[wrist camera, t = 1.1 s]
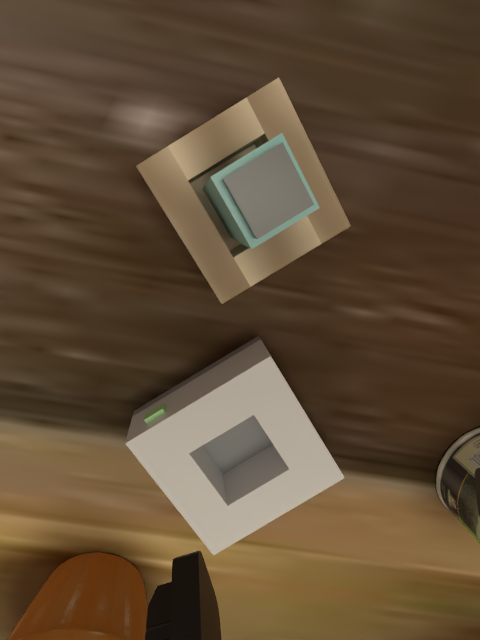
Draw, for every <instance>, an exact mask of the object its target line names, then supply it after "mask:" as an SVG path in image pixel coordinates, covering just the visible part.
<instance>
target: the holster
mask: <svg viewBox="0 0 480 640" xmlns="http://www.w3.org/2000/svg"><path fill="white" fill-rule="evenodd" d="M281 133H283V135H284V137H285V139H286V141H287V143H288V145H289V147H290V149H291V151H292V153H293V155H294V157H295V159H296V161H297V163H298V165H299V167H300V169H301V171H302V173H303V175H304V177H305V179H306V181H307V183H308V185H309V187H310V189H311V191H312V193H313V195H314V197H315V199H316V201H317V203H318V205H319V207H320V208H319V209H317V210H316V211H314V212H312V213H311V214H309V215H307V216H306V217H304V218H302V219H301V220H299V221H297V222H296V223H294V224H293V225H291V226H289V227H288V228H286V229H284V230H283V231H281V232H279V233H278V234H276V235H274V236H273V237H271V238H270V239H268V240H266V241H265V242H263V243H261V244H260V245H258V246H256V247H255V248H253V249H250V248H248V247H247V246H245V245H243V244H241V243H239V242H237V241H236V240H234V239H232V238H231V237H230V235H229V234H228V232H227V230H226V228H225V227H224V225H223V223H222V222H221V220H220V218H219V216H218V215H217V213H216V211H215V210H214V208H213V206H212V204H211V203H210V201H209V199H208V198H207V196H206V194H205V192H204V191H203V187H204V186H205V184H206V183H207V181H208V180H209V178H210V177H211V176H212V175H214V174H216V173H217V172H219V171H221V170H222V169H224V168H225V167H227V166H229V165H230V164H232V163H234V162H235V161H237V160H238V159H240V158H242V157H243V156H245V155H247V154H248V153H250V152H251V151H253V150H255V149H256V148H258V147H260V146H261V145H263V144H264V143H266V142H268V141H269V140H271V139H273V138H274V137H276V136H277V135H279V134H281ZM136 167H137V168H138V170H139V172H140V173H141V175H142V177H143V178H144V180H145V181H146V183H147V185H148V186H149V188H150V189H151V191H152V193H153V194H154V196H155V197H156V199H157V201H158V202H159V204H160V206H161V207H162V209H163V210H164V212H165V214H166V215H167V217H168V218H169V220H170V222H171V223H172V225H173V226H174V228H175V230H176V231H177V233H178V235H179V236H180V238H181V239H182V241H183V243H184V244H185V246H186V247H187V249H188V251H189V252H190V254H191V256H192V257H193V259H194V260H195V262H196V264H197V265H198V267H199V268H200V270H201V272H202V273H203V275H204V276H205V278H206V280H207V281H208V283H209V285H210V286H211V288H212V289H213V291H214V293H215V294H216V296H217V297H218V299H219V301H220V302H221V304H223V303H225V302H226V301H228V300H230V299H231V298H233V297H234V296H236V295H238V294H239V293H241V292H243V291H244V290H246V289H248V288H249V287H251V286H253V285H254V284H256V283H258V282H259V281H261V280H263V279H264V278H266V277H267V276H269V275H271V274H272V273H274V272H276V271H277V270H279V269H281V268H282V267H284V266H286V265H287V264H289V263H291V262H292V261H294V260H295V259H297V258H299V257H300V256H302V255H304V254H305V253H307V252H309V251H310V250H312V249H314V248H315V247H317V246H319V245H320V244H322V243H324V242H325V241H327V240H328V239H330V238H332V237H333V236H335V235H337V234H338V233H340V232H342V231H343V230H345V229H347V228H348V227H350V226H351V225H350V223H349V221H348V219H347V217H346V215H345V213H344V211H343V209H342V207H341V205H340V203H339V200H338V198H337V196H336V194H335V192H334V190H333V188H332V186H331V184H330V182H329V180H328V178H327V176H326V174H325V172H324V169H323V167H322V165H321V163H320V161H319V159H318V157H317V155H316V153H315V151H314V149H313V147H312V145H311V143H310V141H309V139H308V136H307V134H306V132H305V130H304V128H303V126H302V124H301V122H300V120H299V118H298V116H297V114H296V112H295V110H294V108H293V105H292V103H291V101H290V99H289V97H288V95H287V93H286V91H285V89H284V87H283V85H282V83H281V81H280V79H279V78H277V79H276V80H274V81H272V82H271V83H269V84H267V85H266V86H264V87H263V88H261V89H259V90H258V91H256V92H255V93H253V94H251V95H250V96H248V97H246V98H245V99H243V100H242V101H240V102H238V103H237V104H235V105H234V106H232V107H230V108H229V109H227V110H225V111H224V112H222V113H221V114H219V115H217V116H216V117H214V118H213V119H211V120H209V121H208V122H206V123H204V124H203V125H201V126H200V127H198V128H196V129H195V130H193V131H192V132H190V133H188V134H187V135H185V136H183V137H182V138H180V139H179V140H177V141H175V142H174V143H172V144H170V145H169V146H167V147H166V148H164V149H162V150H161V151H159V152H158V153H156V154H154V155H153V156H151V157H149V158H148V159H146V160H145V161H143V162H141V163H140V164H138V165H137V166H136Z"/></svg>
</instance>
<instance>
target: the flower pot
mask: <svg viewBox="0 0 480 640" xmlns="http://www.w3.org/2000/svg"><path fill="white" fill-rule="evenodd" d="M147 611H148V608H147V600H146V593H145V586H144V582H143V579H142V577H141V574H140V573H139V571H138V570H137V569H136V568H135V567H134V566H133V565H132V564H131V563H130V562H128V561H127V560H125V559H123V558H121V557H119V556H116V555H111V554H107V553H101V552H93V553H85V554H81V555H78V556H75V557H73V558H71V559H68V560H67V561H65V562H64V563H62V564H61V565H60V566H58V567H57V568H56V569H55V570H54V571H53V573H52V574H51V575H50V577H49V578H48V580H47V581H46V582H45V584H44V585H43V587H42V588H41V589H40V591H39V592H38V594H37V595H36V597H35V598H34V600H33V601H32V603H31V604H30V606H29V607H28V609H27V610H26V611H25V613H24V614H23V616H22V617H21V619H20V620H19V622H18V623H17V625H16V626H15V628H14V629H13V631H12V632H11V634H10V635H9V637H8V638H7V640H145V632H146V621H147Z"/></svg>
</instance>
